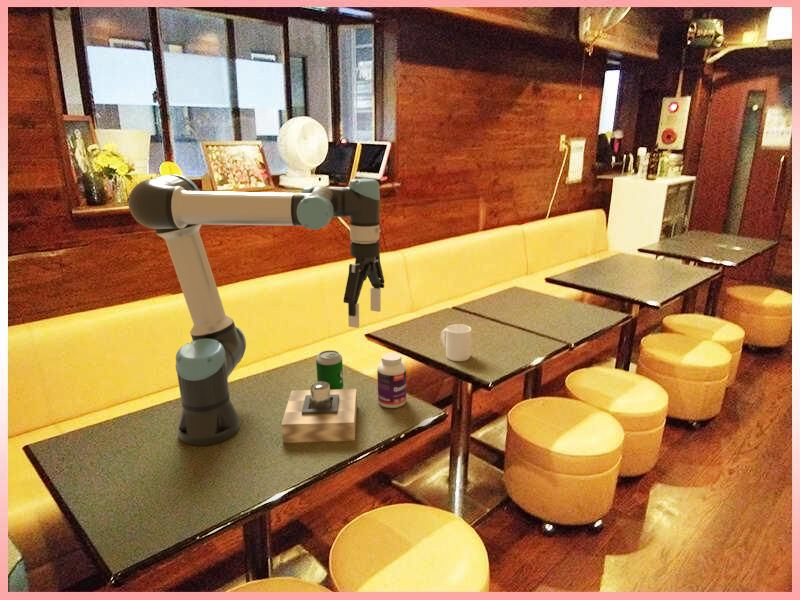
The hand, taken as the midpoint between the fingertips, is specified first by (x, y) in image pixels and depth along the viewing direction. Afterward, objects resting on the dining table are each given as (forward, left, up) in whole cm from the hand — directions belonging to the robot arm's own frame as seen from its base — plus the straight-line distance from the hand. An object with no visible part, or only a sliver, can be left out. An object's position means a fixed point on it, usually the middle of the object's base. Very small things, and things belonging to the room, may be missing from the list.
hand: (365, 318), depth 150 cm
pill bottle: (+7, +1, -26) cm, 27 cm away
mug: (+29, +33, -26) cm, 51 cm away
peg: (-12, -9, -21) cm, 26 cm away
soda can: (-11, +9, -26) cm, 30 cm away
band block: (-12, -9, -26) cm, 30 cm away
